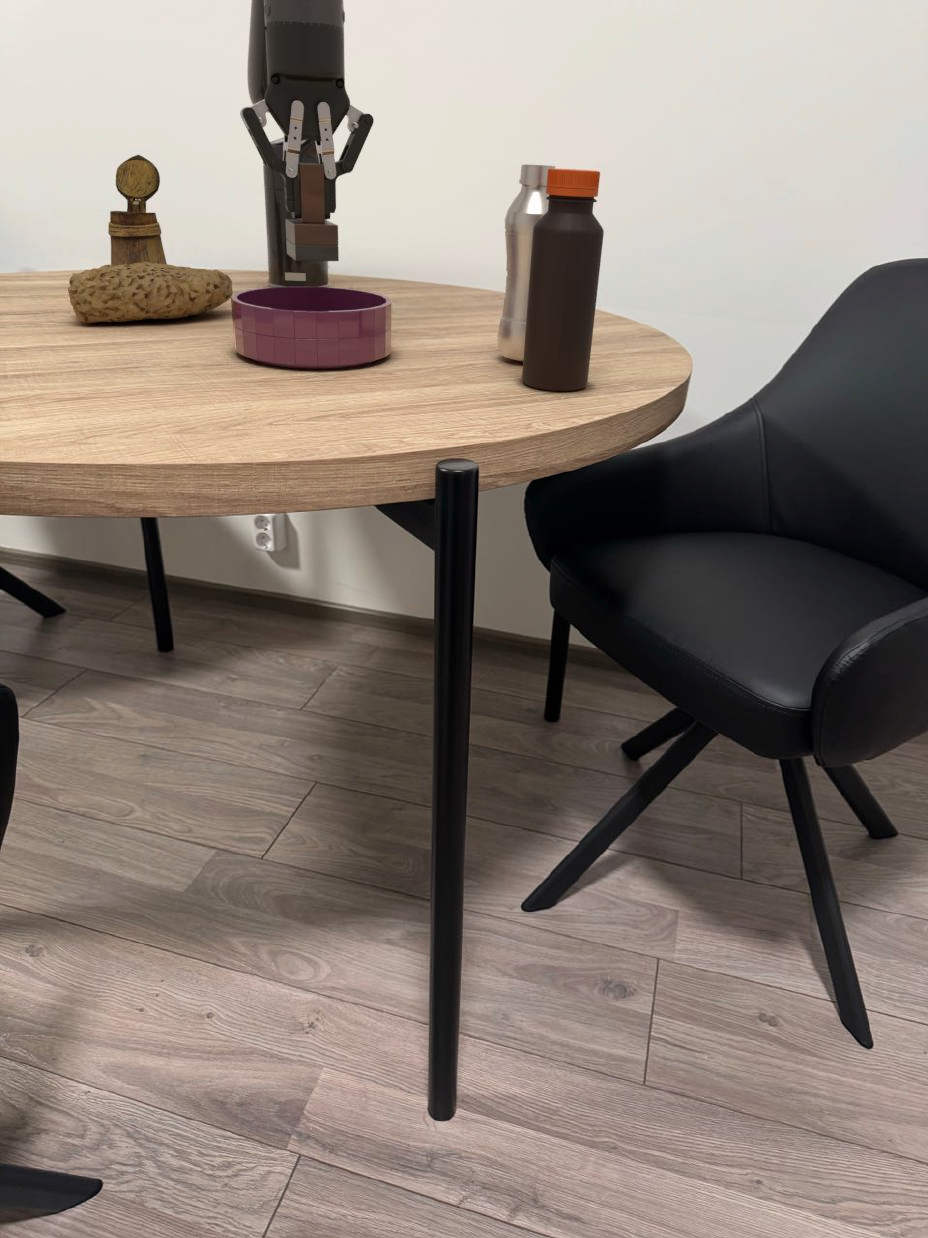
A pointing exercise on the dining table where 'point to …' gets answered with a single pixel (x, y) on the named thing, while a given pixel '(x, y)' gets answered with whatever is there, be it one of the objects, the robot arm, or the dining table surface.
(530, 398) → the dining table surface
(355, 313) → the bowl
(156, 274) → the sponge
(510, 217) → the silver metal bottle
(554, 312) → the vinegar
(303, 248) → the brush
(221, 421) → the dining table surface
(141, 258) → the brown wooden stand
